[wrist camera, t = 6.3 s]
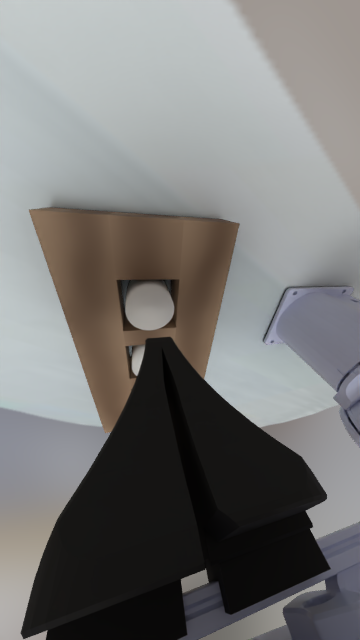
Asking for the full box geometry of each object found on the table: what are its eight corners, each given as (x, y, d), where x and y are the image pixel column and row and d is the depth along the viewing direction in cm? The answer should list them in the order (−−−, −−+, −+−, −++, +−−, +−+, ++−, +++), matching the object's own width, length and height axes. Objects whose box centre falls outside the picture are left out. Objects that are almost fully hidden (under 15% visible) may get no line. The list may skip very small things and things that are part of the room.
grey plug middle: (166, 330, 18) (171, 350, 16) (165, 355, 20) (170, 376, 18) (130, 332, 17) (130, 354, 15) (133, 358, 19) (133, 381, 17)
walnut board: (221, 219, 14) (239, 223, 12) (189, 396, 27) (195, 415, 25) (50, 207, 11) (28, 209, 9) (107, 410, 25) (105, 432, 22)
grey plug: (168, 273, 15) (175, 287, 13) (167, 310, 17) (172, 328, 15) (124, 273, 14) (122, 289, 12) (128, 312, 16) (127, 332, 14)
